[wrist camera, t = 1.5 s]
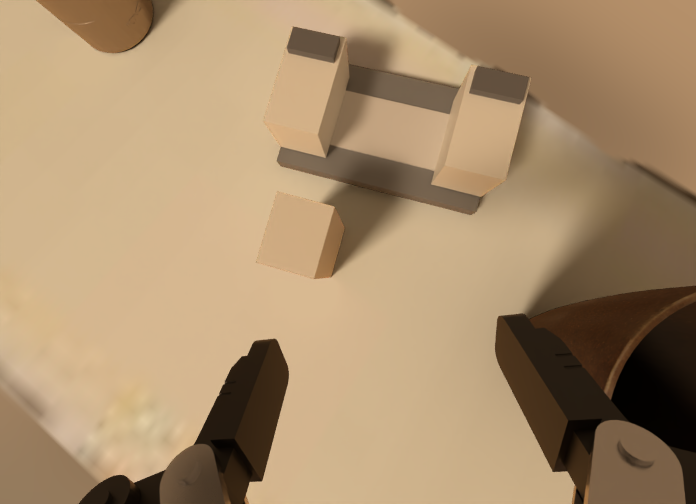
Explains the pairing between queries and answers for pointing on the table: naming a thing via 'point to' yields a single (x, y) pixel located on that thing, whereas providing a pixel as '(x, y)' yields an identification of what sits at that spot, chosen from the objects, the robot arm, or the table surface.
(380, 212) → the table surface
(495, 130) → the board
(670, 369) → the plant pot
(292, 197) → the block
